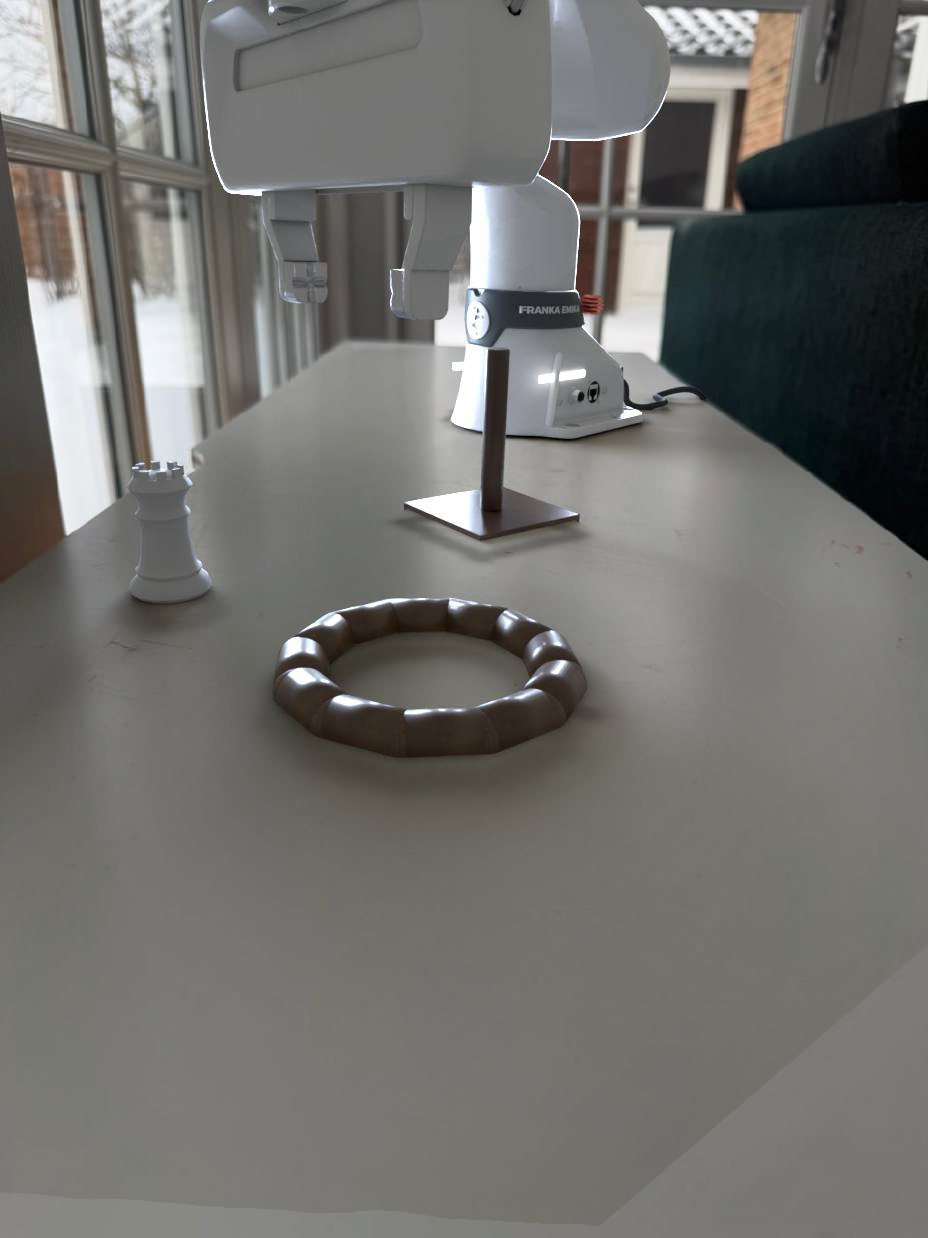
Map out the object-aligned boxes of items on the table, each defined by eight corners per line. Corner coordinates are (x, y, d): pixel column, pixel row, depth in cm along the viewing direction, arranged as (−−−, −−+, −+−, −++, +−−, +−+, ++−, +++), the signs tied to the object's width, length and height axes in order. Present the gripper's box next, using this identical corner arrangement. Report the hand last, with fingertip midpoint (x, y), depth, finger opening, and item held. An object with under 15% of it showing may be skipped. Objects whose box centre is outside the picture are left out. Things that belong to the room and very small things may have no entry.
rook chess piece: (169, 632, 46) (152, 482, 43) (113, 612, 48) (92, 467, 45) (232, 605, 49) (221, 464, 46) (177, 587, 52) (162, 452, 48)
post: (498, 503, 69) (506, 338, 64) (578, 534, 63) (594, 353, 58) (403, 522, 64) (403, 343, 59) (479, 557, 58) (487, 360, 53)
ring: (459, 613, 49) (460, 572, 48) (644, 715, 39) (650, 668, 38) (225, 676, 42) (221, 630, 41) (382, 825, 32) (382, 768, 31)
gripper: (616, -147, 27) (578, 329, 32) (298, -17, 42) (309, 295, 47) (449, -214, 23) (439, 335, 29) (166, -46, 38) (195, 295, 43)
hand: (356, 310), depth 38 cm, fingers open, 8 cm apart
